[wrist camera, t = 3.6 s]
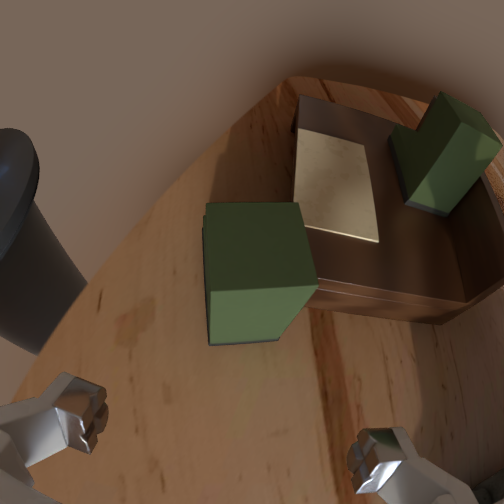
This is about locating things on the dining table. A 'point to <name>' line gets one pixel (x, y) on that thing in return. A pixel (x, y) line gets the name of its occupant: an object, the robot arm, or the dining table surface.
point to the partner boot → (442, 155)
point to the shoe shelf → (386, 224)
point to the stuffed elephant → (490, 489)
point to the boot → (254, 270)
